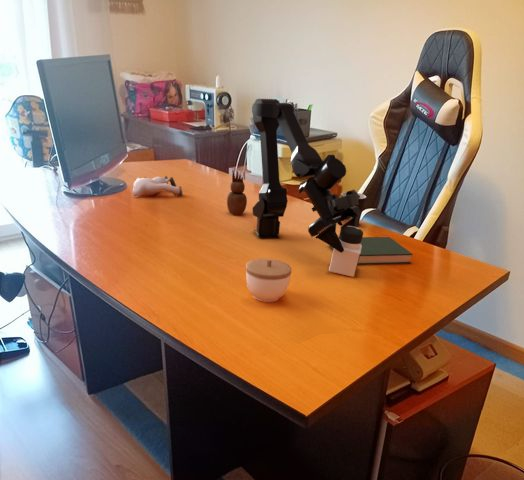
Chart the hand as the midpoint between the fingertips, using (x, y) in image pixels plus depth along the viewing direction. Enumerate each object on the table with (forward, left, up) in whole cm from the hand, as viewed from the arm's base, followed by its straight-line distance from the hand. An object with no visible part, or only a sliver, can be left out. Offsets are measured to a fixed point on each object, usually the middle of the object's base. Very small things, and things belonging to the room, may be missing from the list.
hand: (351, 247), depth 139 cm
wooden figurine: (-20, +55, -7) cm, 59 cm away
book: (+12, +13, -7) cm, 19 cm away
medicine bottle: (-1, +1, -7) cm, 7 cm away
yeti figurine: (-47, +82, -7) cm, 94 cm away
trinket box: (-27, -13, -7) cm, 31 cm away
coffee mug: (+17, +44, -7) cm, 47 cm away
